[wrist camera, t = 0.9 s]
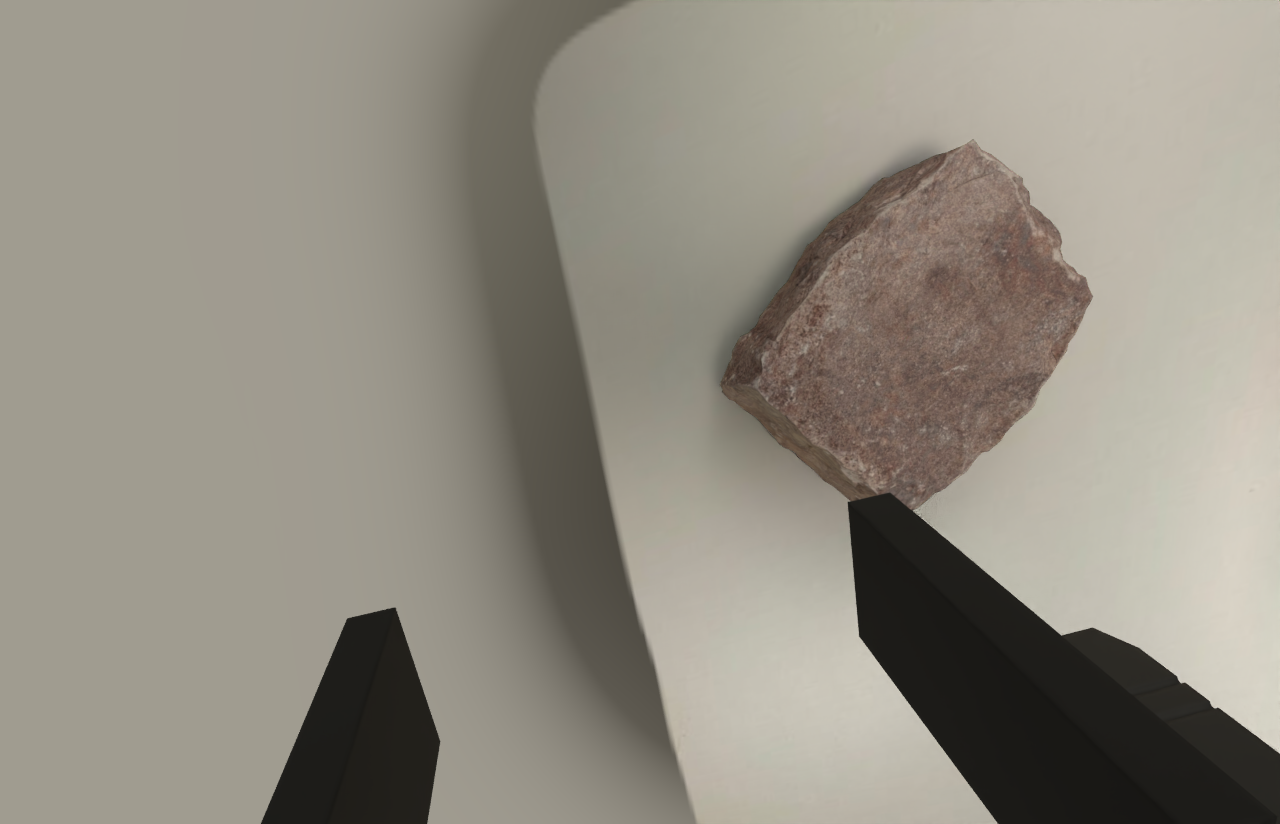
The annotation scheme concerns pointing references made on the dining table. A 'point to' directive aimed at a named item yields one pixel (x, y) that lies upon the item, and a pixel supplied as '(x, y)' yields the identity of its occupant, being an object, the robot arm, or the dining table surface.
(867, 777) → the dining table surface
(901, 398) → the stone
